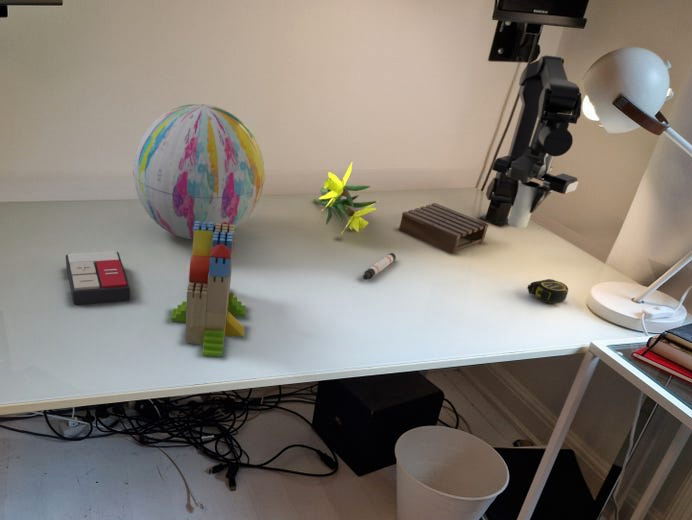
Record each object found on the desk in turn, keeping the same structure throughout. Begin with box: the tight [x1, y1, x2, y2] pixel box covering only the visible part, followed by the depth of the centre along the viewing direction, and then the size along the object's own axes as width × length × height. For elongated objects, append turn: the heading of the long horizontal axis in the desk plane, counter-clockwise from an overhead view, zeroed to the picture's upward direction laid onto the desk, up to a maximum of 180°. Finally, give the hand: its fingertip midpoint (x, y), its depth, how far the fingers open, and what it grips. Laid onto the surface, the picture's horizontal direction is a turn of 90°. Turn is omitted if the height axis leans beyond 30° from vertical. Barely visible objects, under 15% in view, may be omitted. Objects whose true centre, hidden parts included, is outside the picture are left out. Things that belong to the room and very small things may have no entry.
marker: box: [362, 252, 397, 280], centre depth 148 cm, size 15×2×2 cm, turn 145°
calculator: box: [65, 250, 131, 305], centre depth 132 cm, size 11×4×15 cm
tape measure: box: [526, 278, 569, 304], centre depth 143 cm, size 7×7×4 cm
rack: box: [398, 202, 490, 255], centre depth 168 cm, size 14×17×5 cm
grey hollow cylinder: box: [507, 180, 542, 229], centre depth 155 cm, size 4×4×10 cm
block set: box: [170, 221, 247, 358], centre depth 121 cm, size 28×14×19 cm, turn 178°
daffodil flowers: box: [313, 162, 378, 235], centre depth 167 cm, size 17×15×35 cm
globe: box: [132, 103, 265, 241], centre depth 149 cm, size 30×30×30 cm
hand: (522, 209), depth 156 cm, fingers closed on grey hollow cylinder, 4 cm apart
